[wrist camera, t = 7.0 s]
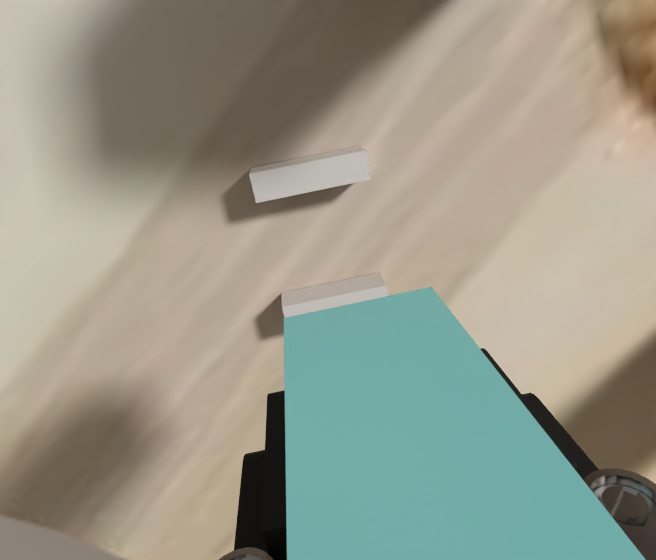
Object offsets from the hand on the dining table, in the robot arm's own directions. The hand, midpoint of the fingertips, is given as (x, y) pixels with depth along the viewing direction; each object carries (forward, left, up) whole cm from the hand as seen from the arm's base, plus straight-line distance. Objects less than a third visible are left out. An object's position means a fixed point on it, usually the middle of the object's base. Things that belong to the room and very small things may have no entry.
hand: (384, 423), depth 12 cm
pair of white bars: (0, 0, -17) cm, 17 cm away
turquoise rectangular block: (0, 0, -2) cm, 2 cm away
